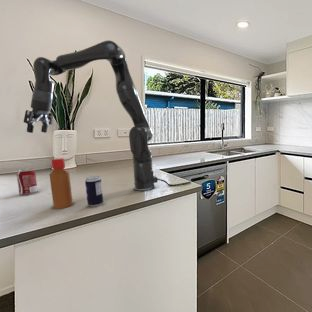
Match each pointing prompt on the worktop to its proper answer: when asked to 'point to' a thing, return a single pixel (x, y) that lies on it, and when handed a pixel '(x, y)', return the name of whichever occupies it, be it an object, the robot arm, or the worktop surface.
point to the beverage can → (94, 190)
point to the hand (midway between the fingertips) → (37, 132)
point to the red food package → (27, 181)
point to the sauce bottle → (61, 188)
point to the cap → (58, 163)
